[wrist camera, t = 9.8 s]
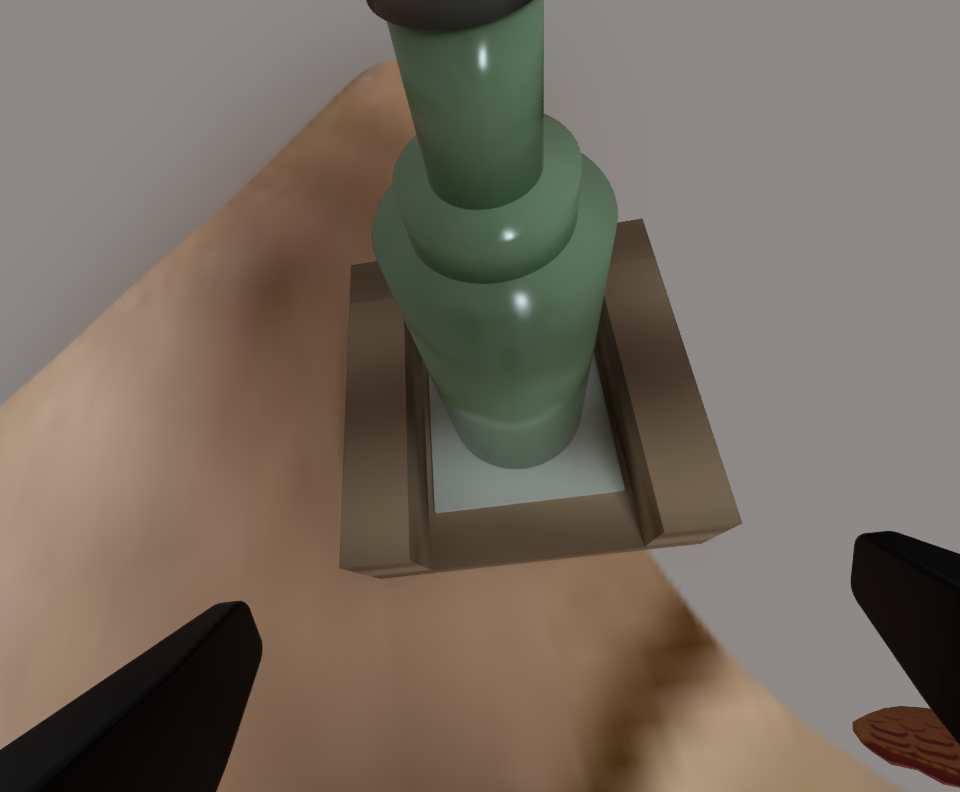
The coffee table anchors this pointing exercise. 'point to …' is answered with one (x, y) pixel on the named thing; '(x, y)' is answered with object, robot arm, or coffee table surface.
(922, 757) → the brown red lumpy cluster
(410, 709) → the coffee table surface
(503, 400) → the bottle
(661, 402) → the square wooden tray
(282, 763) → the coffee table surface
